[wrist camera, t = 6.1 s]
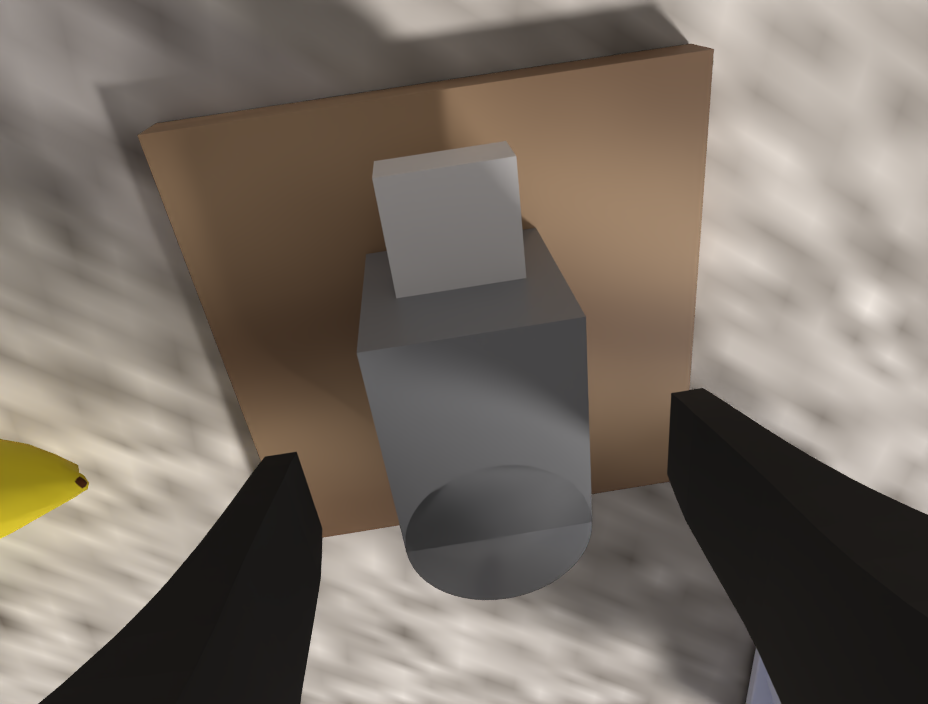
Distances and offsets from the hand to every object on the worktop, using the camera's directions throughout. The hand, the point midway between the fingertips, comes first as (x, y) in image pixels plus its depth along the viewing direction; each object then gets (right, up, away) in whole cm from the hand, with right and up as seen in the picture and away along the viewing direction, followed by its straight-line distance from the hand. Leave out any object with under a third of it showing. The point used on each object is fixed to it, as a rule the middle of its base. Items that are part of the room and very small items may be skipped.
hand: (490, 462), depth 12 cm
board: (-1, +3, +5) cm, 6 cm away
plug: (0, +3, +4) cm, 5 cm away
